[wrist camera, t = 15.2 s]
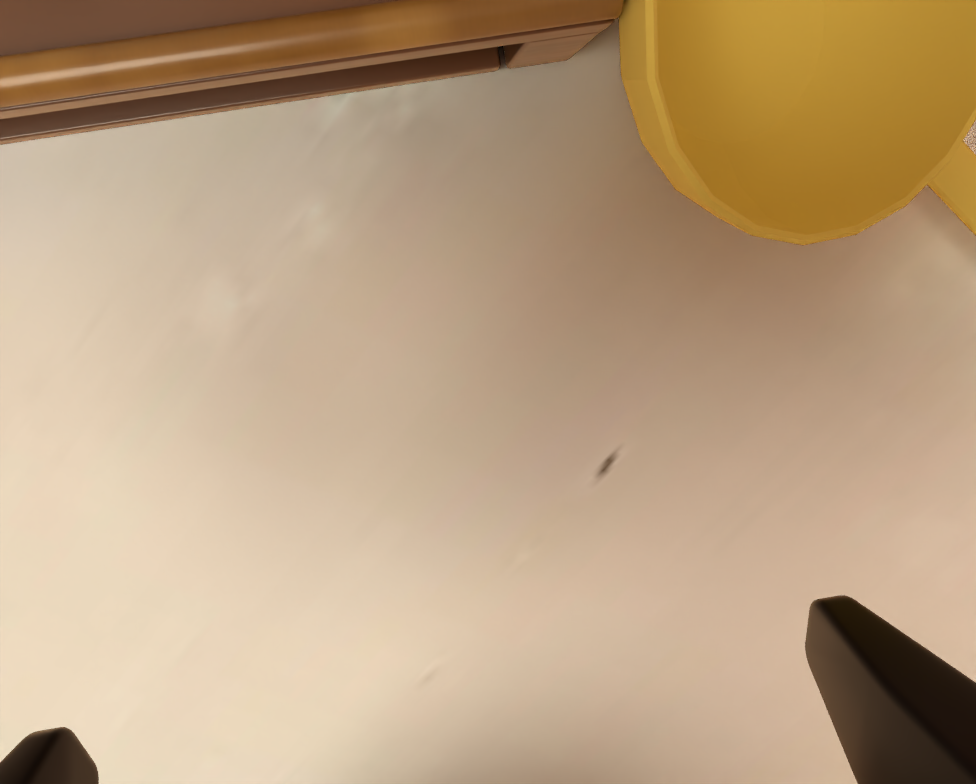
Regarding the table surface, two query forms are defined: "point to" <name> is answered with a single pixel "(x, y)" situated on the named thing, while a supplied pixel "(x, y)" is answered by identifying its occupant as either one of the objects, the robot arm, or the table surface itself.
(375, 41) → the spice rack
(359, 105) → the table surface
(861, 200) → the ladle
